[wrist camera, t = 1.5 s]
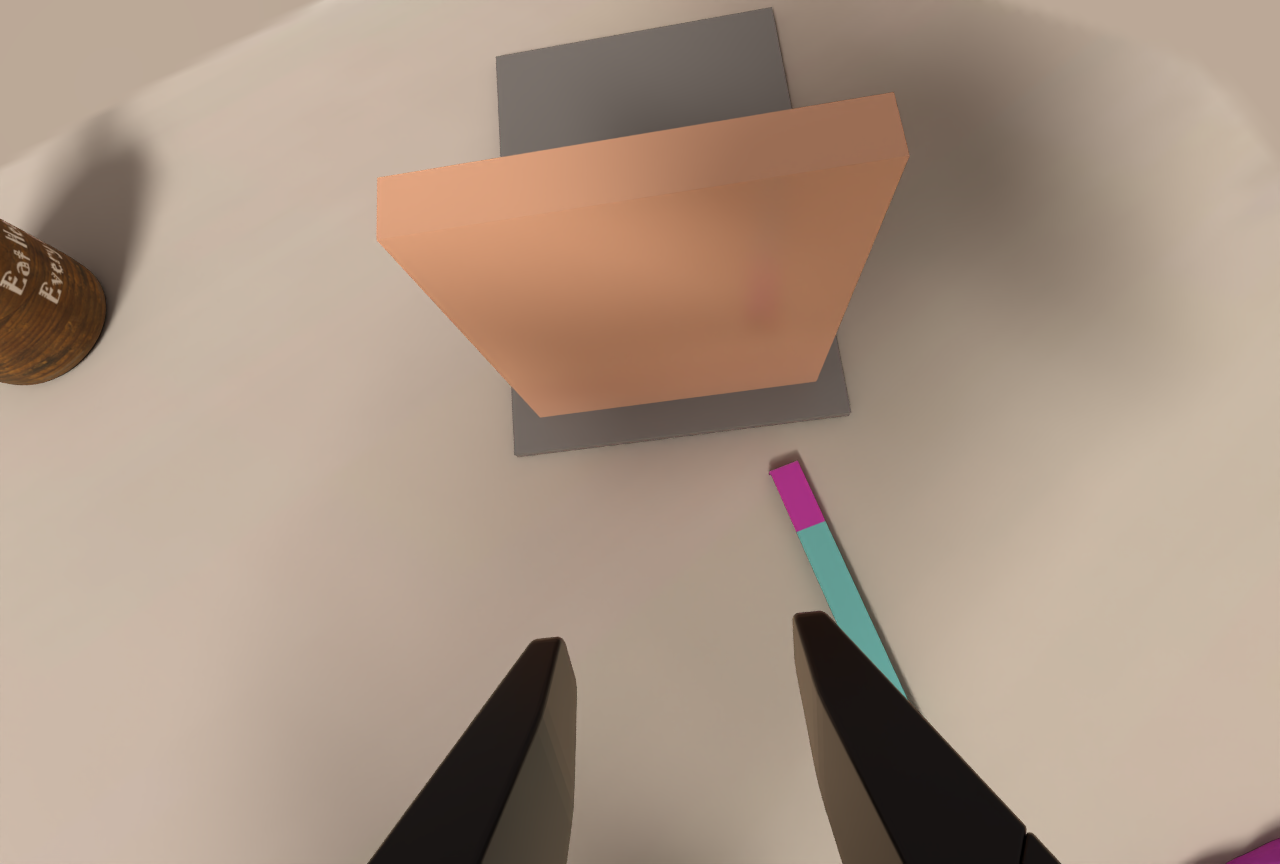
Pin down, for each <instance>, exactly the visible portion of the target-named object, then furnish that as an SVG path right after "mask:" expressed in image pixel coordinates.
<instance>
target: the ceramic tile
mask: <svg viewBox="0 0 1280 864" xmlns="http://www.w3.org/2000/svg"><path fill="white" fill-rule="evenodd" d="M909 156H910V155H909V151H908V147H907V143H906V139H905V135H904V131H903V127H902V123H901V119H900V115H899V111H898V107H897V103H896V99H895V95H894V92H891V93H885V94H879V95H873V96H867V97H861V98H855V99H849V100H843V101H837V102H831V103H825V104H819V105H813V106H807V107H800V108H794V109H788V110H782V111H776V112H770V113H764V114H758V115H752V116H746V117H740V118H734V119H728V120H722V121H716V122H710V123H704V124H698V125H692V126H686V127H680V128H674V129H668V130H662V131H656V132H650V133H644V134H638V135H632V136H626V137H620V138H614V139H608V140H602V141H596V142H590V143H584V144H578V145H572V146H566V147H560V148H554V149H548V150H542V151H536V152H530V153H524V154H518V155H512V156H506V157H500V158H494V159H488V160H481V161H475V162H469V163H463V164H457V165H451V166H445V167H439V168H433V169H427V170H421V171H415V172H409V173H403V174H397V175H391V176H385V177H379V178H377V241H378V242H379V243H380V244H381V245H382V246H383V247H384V248H385V249H386V251H387V252H388V253H389V254H390V255H391V256H392V257H393V258H394V259H395V260H396V261H397V263H398V264H399V265H400V266H401V267H402V268H403V269H404V270H405V271H406V272H407V273H408V274H409V276H410V277H411V278H412V279H413V280H414V281H415V282H416V283H417V284H418V285H419V286H420V288H421V289H422V290H423V291H424V292H425V293H426V294H427V295H428V296H429V297H430V298H431V299H432V301H433V302H434V303H435V304H436V305H437V306H438V307H439V308H440V309H441V310H442V311H443V313H444V314H445V315H446V316H447V317H448V318H449V319H450V320H451V321H452V322H453V323H454V325H455V326H456V327H457V328H458V329H459V330H460V331H461V332H462V333H463V334H464V335H465V336H466V338H467V339H468V340H469V341H470V342H471V343H472V344H473V345H474V346H475V347H476V348H477V350H478V351H479V352H480V353H481V354H482V355H483V356H484V357H485V358H486V359H487V360H488V361H489V363H490V364H491V365H492V366H493V367H494V368H495V369H496V370H497V371H498V372H499V373H500V375H501V376H502V377H503V378H504V379H505V380H506V381H507V382H508V383H509V384H510V385H511V386H512V388H513V389H514V390H515V391H516V392H517V393H518V394H519V395H520V396H521V397H522V398H523V400H524V401H525V402H526V403H527V404H528V405H529V406H530V407H531V408H532V409H533V410H534V412H535V413H536V414H537V415H538V416H539V417H540V418H541V417H548V416H556V415H564V414H571V413H579V412H587V411H594V410H602V409H610V408H617V407H625V406H633V405H640V404H648V403H656V402H663V401H671V400H679V399H686V398H694V397H702V396H709V395H717V394H725V393H732V392H740V391H747V390H755V389H763V388H770V387H778V386H786V385H793V384H801V383H809V382H816V381H817V379H818V376H819V374H820V371H821V369H822V367H823V364H824V362H825V359H826V357H827V354H828V352H829V350H830V347H831V345H832V342H833V340H834V338H835V335H836V333H837V330H838V328H839V325H840V323H841V321H842V318H843V316H844V313H845V311H846V309H847V306H848V304H849V301H850V299H851V296H852V294H853V292H854V289H855V287H856V284H857V282H858V280H859V277H860V275H861V272H862V270H863V267H864V265H865V263H866V260H867V258H868V255H869V253H870V251H871V248H872V246H873V243H874V241H875V238H876V236H877V234H878V231H879V229H880V226H881V224H882V222H883V219H884V217H885V214H886V212H887V209H888V207H889V205H890V202H891V200H892V197H893V195H894V192H895V190H896V188H897V185H898V183H899V180H900V178H901V176H902V173H903V171H904V168H905V166H906V163H907V161H908V159H909Z"/></svg>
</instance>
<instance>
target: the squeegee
mask: <svg viewBox="0 0 1280 864" xmlns="http://www.w3.org/2000/svg"><path fill="white" fill-rule="evenodd" d="M770 474H771V476H772V478H773V480H774V482H775V485H776V487H777V489H778V491H779V494H780V496H781V498H782V500H783V503H784V505H785V507H786V509H787V512H788V514H789V516H790V518H791V521H792V523H793V525H794V527H795V530H796V532H797V535H798V537H799V539H800V541H801V544H802V546H803V548H804V550H805V553H806V555H807V557H808V559H809V562H810V564H811V566H812V568H813V571H814V573H815V575H816V577H817V580H818V582H819V584H820V586H821V589H822V591H823V593H824V595H825V598H826V600H827V602H828V604H829V607H830V609H831V611H832V613H833V616H834V618H835V620H836V622H837V625H838V626H839V627H840V628H841V629H842V630H843V631H844V632H845V634H846V635H847V636H848V637H849V638H850V639H851V640H852V641H853V642H854V643H855V644H856V645H857V646H858V647H859V648H860V650H861V651H862V652H863V653H864V654H865V655H866V656H867V657H868V658H869V659H870V660H871V661H872V662H873V663H874V664H875V666H876V667H877V668H878V669H879V670H880V671H881V672H882V673H883V674H884V675H885V676H886V677H887V678H888V679H889V680H890V682H891V683H892V684H893V685H894V686H895V687H896V688H897V689H898V690H899V691H900V692H901V693H902V694H903V695H904V697H905V698H906V699H907V697H906V695H905V693H904V691H903V688H902V686H901V684H900V682H899V680H898V677H897V675H896V673H895V671H894V669H893V667H892V664H891V662H890V660H889V658H888V656H887V654H886V651H885V649H884V647H883V645H882V643H881V641H880V638H879V636H878V634H877V632H876V630H875V628H874V625H873V623H872V621H871V619H870V617H869V615H868V612H867V610H866V608H865V606H864V604H863V601H862V599H861V597H860V595H859V593H858V591H857V588H856V586H855V584H854V582H853V580H852V578H851V575H850V573H849V571H848V569H847V567H846V565H845V562H844V560H843V558H842V556H841V554H840V552H839V549H838V547H837V545H836V543H835V541H834V539H833V536H832V534H831V532H830V530H829V528H828V526H827V523H826V521H825V519H824V517H823V515H822V512H821V510H820V508H819V506H818V504H817V502H816V499H815V497H814V495H813V493H812V491H811V489H810V486H809V484H808V482H807V480H806V478H805V476H804V473H803V471H802V469H801V467H800V465H799V463H798V460H797V461H794V462H792V463H789V464H787V465H784V466H781V467H779V468H776V469H774V470H771V471H770V472H769V475H770ZM907 700H908V699H907ZM1226 864H1280V838H1279V839H1276V840H1274V841H1271V842H1269V843H1267V844H1265V845H1263V846H1261V847H1259V848H1257V849H1255V850H1253V851H1251V852H1249V853H1247V854H1244V855H1242V856H1239V857H1237V858H1235V859H1233V860H1231V861H1229V862H1227V863H1226Z"/></svg>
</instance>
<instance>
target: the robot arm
mask: <svg viewBox="0 0 1280 864" xmlns="http://www.w3.org/2000/svg"><path fill="white" fill-rule="evenodd" d="M793 639H794V657H795V666H796V673H797V678H798V683H799V688H800V694H801V699H802V704H803V709H804V714H805V719H806V725H807V730H808V735H809V740H810V745H811V750H812V756H813V761H814V766H815V771H816V775H817V780H818V784H819V788H820V792H821V795H822V799H823V802H824V806H825V809H826V812H827V816H828V819H829V822H830V825H831V828H832V832H833V835H834V838H835V841H836V844H837V847H838V851H839V854H840V857H841V860H842V863H843V864H1061V863H1060V862H1059V861H1058V860H1057V859H1056V857H1055V856H1054V855H1053V854H1052V853H1051V852H1050V851H1049V850H1048V849H1047V848H1046V847H1045V846H1044V845H1043V843H1042V842H1041V841H1040V840H1039V839H1038V838H1037V837H1036V836H1035V835H1034V834H1033V833H1030V832H1029V833H1027V834H1026V826H1025V825H1024V824H1023V822H1022V821H1021V820H1020V819H1019V818H1018V817H1017V816H1016V815H1015V814H1014V813H1013V812H1012V811H1011V810H1010V809H1009V808H1008V806H1007V805H1006V804H1005V803H1004V802H1003V801H1002V800H1001V799H1000V798H999V797H998V796H997V795H996V794H995V793H994V792H993V790H992V789H991V788H990V787H989V786H988V785H987V784H986V783H985V782H984V781H983V780H982V779H981V778H980V777H979V776H978V774H977V773H976V772H975V771H974V770H973V769H972V768H971V767H970V766H969V765H968V764H967V763H966V762H965V761H964V759H963V758H962V757H961V756H960V755H959V754H958V753H957V752H956V751H955V750H954V749H953V748H952V747H951V746H950V745H949V743H948V742H947V741H946V740H945V739H944V738H943V737H942V736H941V735H940V734H939V733H938V732H937V731H936V730H935V729H934V727H933V726H932V725H931V724H930V723H929V722H928V721H927V720H926V719H925V718H924V717H923V716H922V715H921V714H920V713H919V711H918V710H917V709H916V708H915V707H914V706H913V705H912V704H911V703H910V702H909V701H908V700H907V699H906V698H905V697H904V695H903V694H902V693H901V692H900V691H899V690H898V689H897V688H896V687H895V686H894V685H893V684H892V683H891V682H890V680H889V679H888V678H887V677H886V676H885V675H884V674H883V673H882V672H881V671H880V670H879V669H878V668H877V667H876V666H875V664H874V663H873V662H872V661H871V660H870V659H869V658H868V657H867V656H866V655H865V654H864V653H863V652H862V651H861V650H860V648H859V647H858V646H857V645H856V644H855V643H854V642H853V641H852V640H851V639H850V638H849V637H848V636H847V635H846V634H845V632H844V631H843V630H842V629H841V628H840V627H839V626H838V625H837V624H836V623H835V622H834V621H833V620H832V619H831V617H830V616H829V615H828V614H826V613H825V612H823V611H813V612H803V613H796V614H795V615H794V616H793ZM576 711H577V686H576V679H575V675H574V671H573V668H572V664H571V661H570V657H569V654H568V651H567V647H566V644H565V642H564V640H563V639H562V638H560V637H551V638H541V639H535V640H533V641H532V642H531V643H530V644H529V645H528V646H527V648H526V649H525V651H524V652H523V653H522V655H521V656H520V657H519V659H518V660H517V661H516V663H515V664H514V665H513V667H512V668H511V670H510V671H509V672H508V674H507V675H506V676H505V678H504V679H503V680H502V682H501V683H500V684H499V686H498V687H497V688H496V690H495V691H494V693H493V694H492V695H491V697H490V698H489V699H488V701H487V702H486V703H485V705H484V706H483V707H482V709H481V710H480V712H479V713H478V714H477V716H476V717H475V718H474V720H473V721H472V722H471V724H470V725H469V726H468V728H467V729H466V731H465V732H464V733H463V735H462V736H461V737H460V739H459V740H458V741H457V743H456V744H455V745H454V747H453V748H452V750H451V751H450V752H449V754H448V755H447V756H446V758H445V759H444V760H443V762H442V763H441V764H440V766H439V767H438V769H437V770H436V771H435V773H434V774H433V775H432V777H431V778H430V779H429V781H428V782H427V783H426V785H425V786H424V788H423V789H422V790H421V792H420V793H419V794H418V796H417V797H416V798H415V800H414V801H413V802H412V804H411V805H410V806H409V808H408V809H407V811H406V812H405V813H404V815H403V816H402V817H401V819H400V820H399V821H398V823H397V824H396V825H395V827H394V828H393V830H392V831H391V832H390V834H389V835H388V836H387V838H386V839H385V840H384V842H383V843H382V844H381V846H380V847H379V849H378V850H377V851H376V853H375V854H374V855H373V857H372V858H371V859H370V861H369V862H368V863H367V864H566V863H567V856H568V849H569V841H570V834H571V827H572V817H573V808H574V788H575V749H576Z"/></svg>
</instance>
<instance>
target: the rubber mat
mask: <svg viewBox="0 0 1280 864" xmlns="http://www.w3.org/2000/svg"><path fill="white" fill-rule="evenodd" d="M496 71H497V92H498V114H499V135H500V156H501V157H506V156H512V155H518V154H524V153H530V152H536V151H542V150H548V149H554V148H560V147H566V146H572V145H578V144H584V143H590V142H596V141H602V140H608V139H614V138H620V137H626V136H632V135H638V134H644V133H650V132H656V131H662V130H668V129H674V128H680V127H686V126H692V125H698V124H704V123H710V122H716V121H722V120H728V119H734V118H740V117H746V116H752V115H758V114H764V113H770V112H776V111H782V110H788V109H792V108H791V103H790V97H789V92H788V87H787V82H786V77H785V72H784V67H783V62H782V57H781V51H780V46H779V41H778V36H777V31H776V26H775V21H774V16H773V11H772V7H770V8H765V9H759V10H754V11H748V12H743V13H737V14H731V15H726V16H720V17H715V18H709V19H704V20H698V21H692V22H687V23H681V24H676V25H670V26H665V27H659V28H653V29H648V30H642V31H637V32H631V33H626V34H620V35H615V36H609V37H603V38H598V39H592V40H587V41H581V42H576V43H570V44H564V45H559V46H553V47H548V48H542V49H537V50H531V51H526V52H520V53H514V54H509V55H503V56H498V57H496ZM511 391H512V412H513V434H514V455H516V456H517V457H522V456H530V455H538V454H546V453H554V452H562V451H570V450H578V449H586V448H594V447H602V446H610V445H618V444H626V443H633V442H641V441H649V440H657V439H665V438H673V437H681V436H689V435H697V434H705V433H713V432H721V431H729V430H737V429H745V428H753V427H761V426H769V425H777V424H785V423H793V422H801V421H808V420H816V419H824V418H832V417H840V416H848V415H850V413H851V409H850V404H849V399H848V394H847V389H846V384H845V378H844V373H843V368H842V363H841V358H840V353H839V348H838V343H837V338H836V335H835V338H834V340H833V342H832V345H831V347H830V350H829V352H828V354H827V357H826V359H825V362H824V364H823V367H822V369H821V371H820V374H819V376H818V379H817V381H816V382H809V383H801V384H793V385H786V386H778V387H770V388H763V389H755V390H747V391H740V392H732V393H725V394H717V395H709V396H702V397H694V398H686V399H679V400H671V401H663V402H656V403H648V404H640V405H633V406H625V407H617V408H610V409H602V410H594V411H587V412H579V413H571V414H564V415H556V416H548V417H541V418H540V417H539V416H538V415H537V414H536V413H535V412H534V410H533V409H532V408H531V407H530V406H529V405H528V404H527V403H526V402H525V401H524V400H523V398H522V397H521V396H520V395H519V394H518V393H517V392H516V391H515V390H514V389H513V388H512V386H511Z"/></svg>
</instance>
